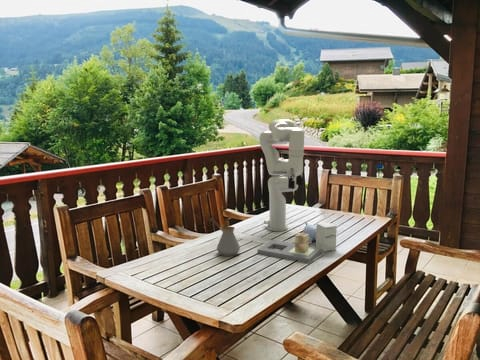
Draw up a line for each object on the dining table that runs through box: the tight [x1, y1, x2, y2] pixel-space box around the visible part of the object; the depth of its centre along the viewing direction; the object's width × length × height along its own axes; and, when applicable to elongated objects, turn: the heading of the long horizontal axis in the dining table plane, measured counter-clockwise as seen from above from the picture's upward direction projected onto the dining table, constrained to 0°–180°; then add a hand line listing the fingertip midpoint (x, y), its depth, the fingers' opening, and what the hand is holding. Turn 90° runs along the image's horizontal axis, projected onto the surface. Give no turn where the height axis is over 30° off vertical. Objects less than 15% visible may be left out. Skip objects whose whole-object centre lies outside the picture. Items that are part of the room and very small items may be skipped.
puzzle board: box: [256, 240, 322, 264], centre depth 203 cm, size 27×16×2 cm, turn 60°
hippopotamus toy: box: [302, 221, 317, 245], centre depth 220 cm, size 11×15×10 cm
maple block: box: [294, 232, 310, 253], centre depth 199 cm, size 5×5×8 cm
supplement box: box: [315, 222, 338, 252], centre depth 208 cm, size 7×7×13 cm
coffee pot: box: [210, 217, 241, 257], centre depth 207 cm, size 21×12×15 cm, turn 36°
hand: (295, 186), depth 213 cm, fingers open, 9 cm apart
